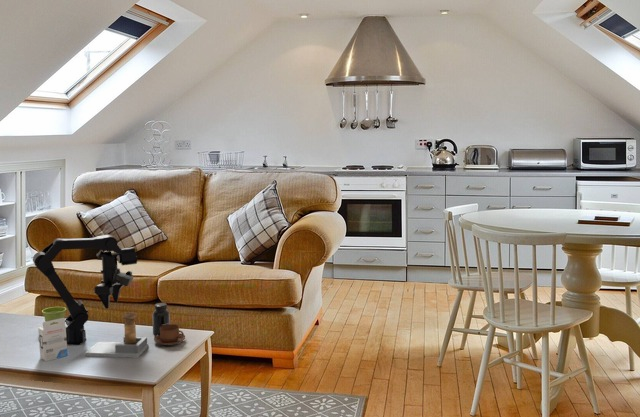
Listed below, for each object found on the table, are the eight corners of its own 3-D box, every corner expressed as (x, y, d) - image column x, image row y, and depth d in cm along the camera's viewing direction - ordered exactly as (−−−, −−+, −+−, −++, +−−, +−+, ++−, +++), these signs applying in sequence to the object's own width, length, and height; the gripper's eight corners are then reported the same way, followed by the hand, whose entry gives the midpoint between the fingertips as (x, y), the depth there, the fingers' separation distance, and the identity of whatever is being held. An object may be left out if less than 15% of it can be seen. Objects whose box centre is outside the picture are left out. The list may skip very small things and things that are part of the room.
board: (85, 355, 253) (84, 345, 253) (98, 344, 265) (97, 334, 264) (137, 357, 251) (137, 347, 251) (148, 346, 263) (148, 336, 263)
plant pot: (40, 329, 284) (39, 308, 283) (64, 325, 289) (63, 305, 288) (45, 335, 276) (44, 314, 275) (69, 331, 281) (68, 310, 280)
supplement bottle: (165, 336, 275) (164, 307, 273) (150, 335, 276) (149, 306, 275) (172, 330, 282) (171, 302, 280) (157, 329, 283) (156, 301, 281)
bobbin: (124, 351, 255) (122, 317, 253) (124, 346, 259) (123, 313, 257) (137, 349, 256) (136, 316, 254) (137, 345, 260) (136, 312, 259)
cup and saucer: (187, 337, 274) (187, 322, 273) (182, 347, 262) (181, 332, 261) (157, 337, 274) (157, 322, 273) (151, 347, 262) (150, 332, 261)
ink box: (62, 352, 257) (60, 314, 255) (68, 355, 253) (65, 317, 251) (39, 358, 251) (37, 319, 249) (44, 361, 247) (42, 322, 245)
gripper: (120, 272, 261) (122, 312, 263) (137, 261, 279) (139, 299, 281) (92, 272, 262) (94, 311, 264) (111, 261, 280) (113, 298, 282)
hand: (111, 305), depth 273 cm, fingers open, 9 cm apart
